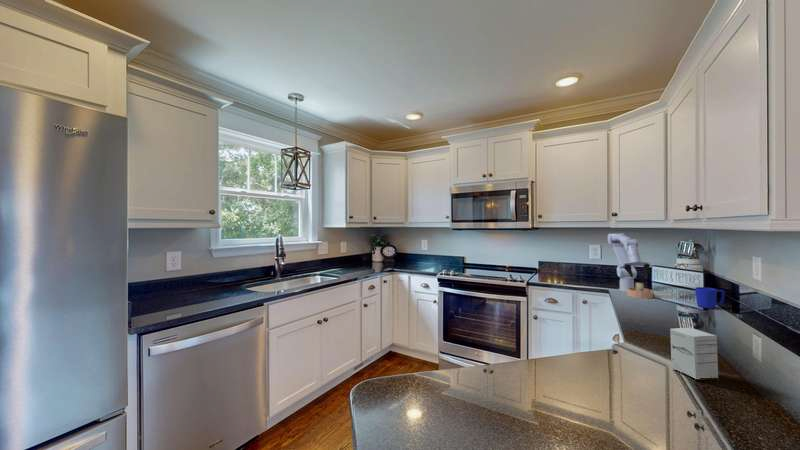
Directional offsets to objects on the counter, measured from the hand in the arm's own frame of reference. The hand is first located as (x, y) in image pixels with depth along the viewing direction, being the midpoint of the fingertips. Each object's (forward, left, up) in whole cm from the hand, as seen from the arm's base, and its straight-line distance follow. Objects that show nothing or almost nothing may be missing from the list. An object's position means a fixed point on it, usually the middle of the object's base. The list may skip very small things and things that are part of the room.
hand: (639, 276), depth 186 cm
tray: (-6, +13, -13) cm, 19 cm away
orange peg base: (-2, 0, -13) cm, 13 cm away
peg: (-2, 0, -12) cm, 12 cm away
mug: (+18, +25, -13) cm, 33 cm away
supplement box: (+112, -21, -13) cm, 115 cm away
